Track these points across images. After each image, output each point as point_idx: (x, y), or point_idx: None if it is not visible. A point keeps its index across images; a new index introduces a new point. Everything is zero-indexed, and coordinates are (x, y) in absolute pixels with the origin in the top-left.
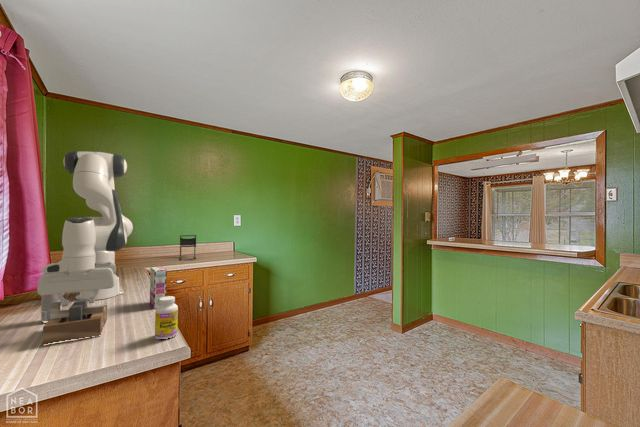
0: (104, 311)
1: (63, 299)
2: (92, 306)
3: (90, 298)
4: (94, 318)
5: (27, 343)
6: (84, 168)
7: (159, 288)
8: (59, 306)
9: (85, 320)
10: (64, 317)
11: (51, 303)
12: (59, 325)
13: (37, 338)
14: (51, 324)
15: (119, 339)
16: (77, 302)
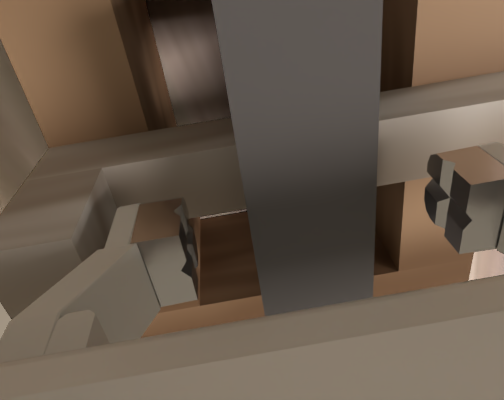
0: (501, 61)
1: (136, 306)
2: (429, 117)
3: (477, 248)
4: (429, 276)
5: (21, 185)
6: None
7: None
8: (99, 228)
9: (375, 296)
10: (145, 99)
11: (1, 297)
12: (225, 321)
13: (23, 116)
14: (166, 314)
15: (492, 266)
16: (287, 176)
